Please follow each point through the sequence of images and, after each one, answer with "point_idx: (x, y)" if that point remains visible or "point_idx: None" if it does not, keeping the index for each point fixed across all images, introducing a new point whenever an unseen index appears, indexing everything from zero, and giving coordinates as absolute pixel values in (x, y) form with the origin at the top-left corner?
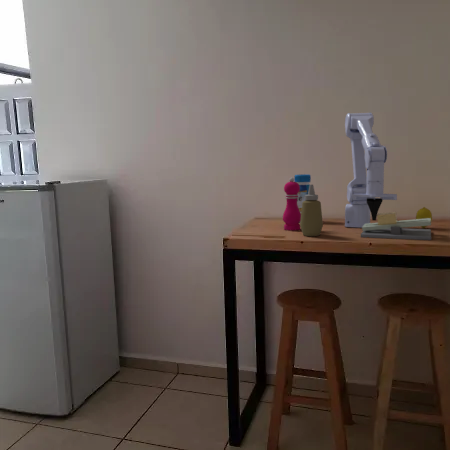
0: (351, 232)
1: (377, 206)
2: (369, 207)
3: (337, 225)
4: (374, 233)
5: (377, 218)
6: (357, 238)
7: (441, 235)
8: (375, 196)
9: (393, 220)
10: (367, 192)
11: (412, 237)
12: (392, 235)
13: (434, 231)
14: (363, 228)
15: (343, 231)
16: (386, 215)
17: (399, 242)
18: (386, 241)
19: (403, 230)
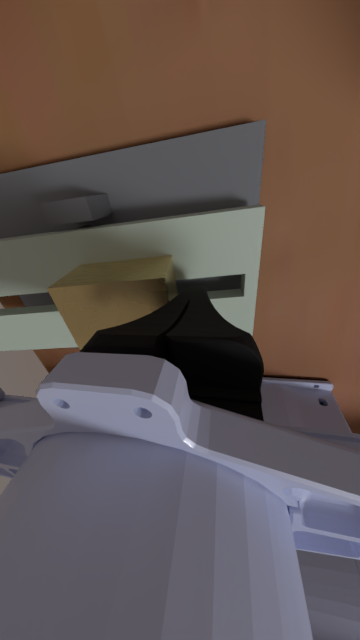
0: (312, 279)
1: (143, 321)
2: (221, 318)
3: (356, 407)
4: (187, 195)
5: (166, 269)
6: (286, 48)
7: (6, 299)
8: (68, 361)
9: (83, 270)
10: (278, 560)
11: (10, 173)
12: (87, 161)
13: (56, 352)
14: (253, 207)
15: (353, 296)
16: (105, 281)
17: (6, 8)
18: (80, 5)
19: None
